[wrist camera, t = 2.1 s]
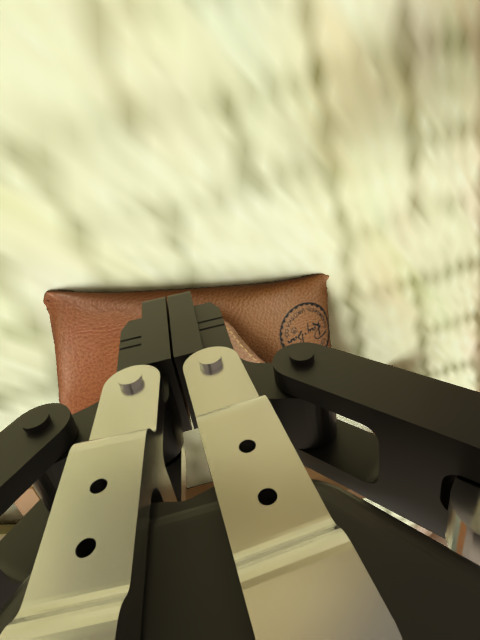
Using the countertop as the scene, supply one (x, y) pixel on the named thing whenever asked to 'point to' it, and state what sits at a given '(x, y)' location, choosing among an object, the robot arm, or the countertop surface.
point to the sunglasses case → (234, 302)
